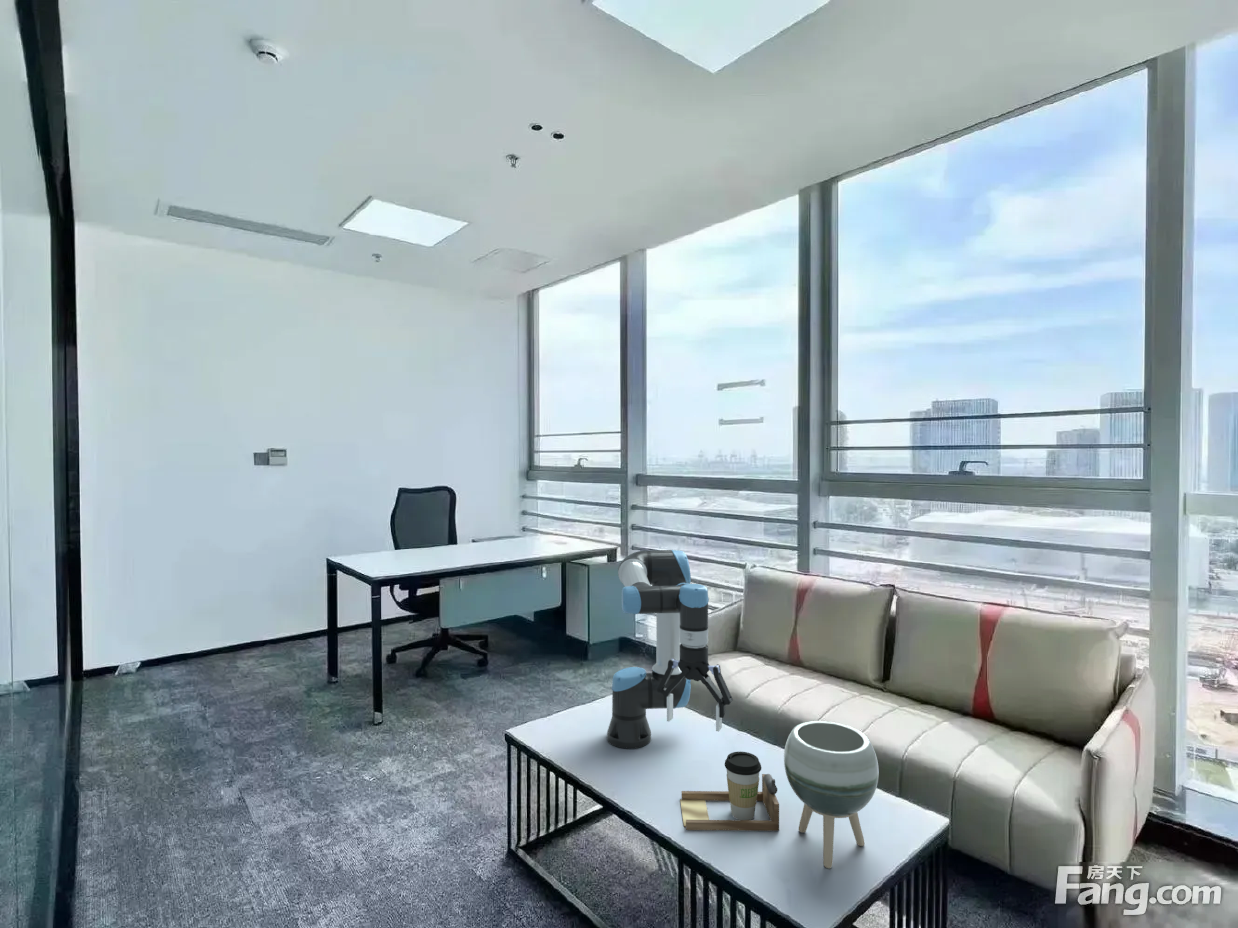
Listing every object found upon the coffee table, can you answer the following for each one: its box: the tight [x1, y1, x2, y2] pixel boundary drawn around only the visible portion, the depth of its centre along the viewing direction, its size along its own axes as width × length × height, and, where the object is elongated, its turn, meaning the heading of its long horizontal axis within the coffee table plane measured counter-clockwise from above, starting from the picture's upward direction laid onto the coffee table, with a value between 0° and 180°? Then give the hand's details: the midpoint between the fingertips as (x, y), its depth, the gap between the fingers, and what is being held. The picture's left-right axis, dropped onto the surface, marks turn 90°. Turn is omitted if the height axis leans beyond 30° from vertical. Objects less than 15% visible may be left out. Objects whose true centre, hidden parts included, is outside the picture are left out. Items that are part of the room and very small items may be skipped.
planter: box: [783, 720, 880, 869], centre depth 153 cm, size 22×22×28 cm
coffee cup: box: [724, 751, 762, 820], centre depth 167 cm, size 10×10×15 cm
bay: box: [679, 773, 780, 832], centre depth 167 cm, size 15×25×11 cm, turn 89°
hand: (694, 724), depth 163 cm, fingers open, 13 cm apart
